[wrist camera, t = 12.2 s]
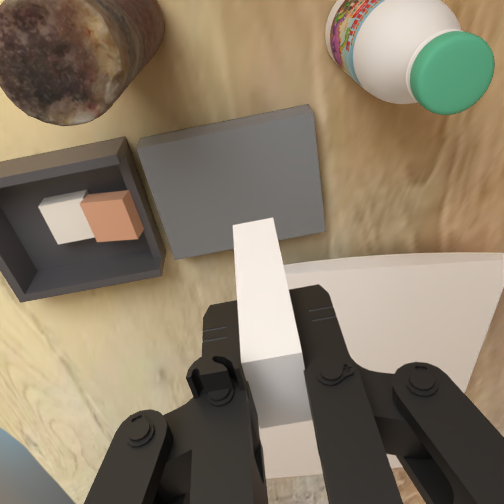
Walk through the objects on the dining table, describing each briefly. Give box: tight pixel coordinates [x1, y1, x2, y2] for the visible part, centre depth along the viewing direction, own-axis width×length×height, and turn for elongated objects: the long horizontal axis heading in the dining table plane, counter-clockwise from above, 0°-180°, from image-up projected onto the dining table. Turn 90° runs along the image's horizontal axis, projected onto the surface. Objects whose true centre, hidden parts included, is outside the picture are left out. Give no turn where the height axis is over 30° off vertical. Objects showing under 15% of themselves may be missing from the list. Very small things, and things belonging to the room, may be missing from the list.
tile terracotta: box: [79, 190, 144, 242], centre depth 48 cm, size 5×5×2 cm
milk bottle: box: [325, 0, 495, 115], centre depth 34 cm, size 8×8×20 cm
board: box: [259, 252, 504, 479], centre depth 68 cm, size 45×32×5 cm
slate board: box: [136, 104, 326, 260], centre depth 49 cm, size 14×18×3 cm
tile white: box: [38, 190, 95, 244], centre depth 50 cm, size 5×5×2 cm
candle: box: [0, 0, 164, 126], centre depth 32 cm, size 8×7×20 cm
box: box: [0, 137, 166, 302], centre depth 49 cm, size 15×17×5 cm
